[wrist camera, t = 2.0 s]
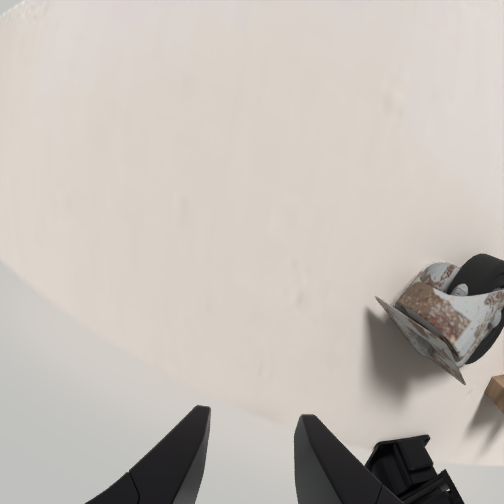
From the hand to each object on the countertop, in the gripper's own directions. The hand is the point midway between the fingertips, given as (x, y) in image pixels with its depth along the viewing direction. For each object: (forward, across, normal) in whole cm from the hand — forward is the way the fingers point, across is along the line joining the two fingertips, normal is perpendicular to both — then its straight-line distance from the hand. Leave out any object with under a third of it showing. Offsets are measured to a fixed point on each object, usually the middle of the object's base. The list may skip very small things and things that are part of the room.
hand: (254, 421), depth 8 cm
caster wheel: (+12, -15, -1) cm, 20 cm away
